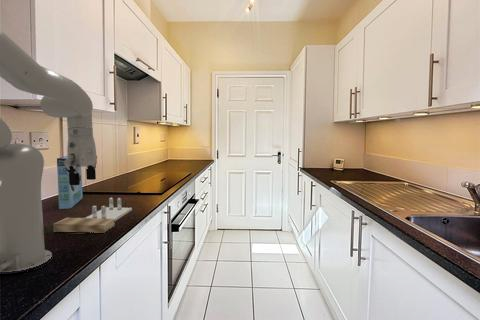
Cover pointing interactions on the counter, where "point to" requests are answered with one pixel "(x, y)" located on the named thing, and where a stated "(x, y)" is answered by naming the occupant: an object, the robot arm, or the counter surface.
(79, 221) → the oak shelf board
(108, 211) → the peg stand
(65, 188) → the light blue carton
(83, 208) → the counter surface
